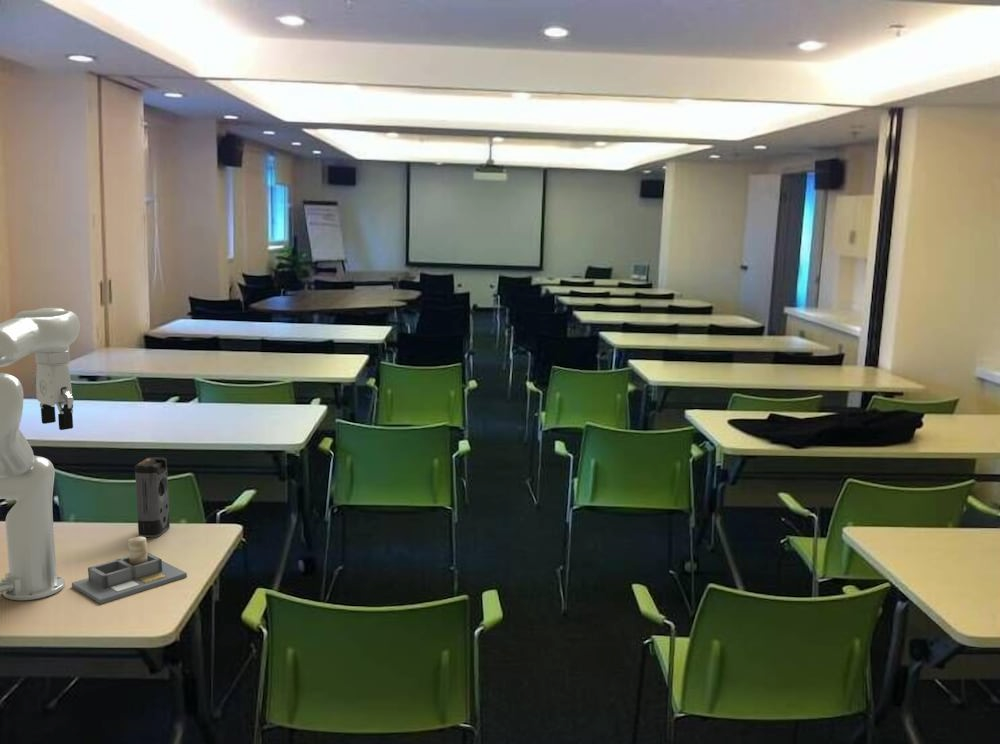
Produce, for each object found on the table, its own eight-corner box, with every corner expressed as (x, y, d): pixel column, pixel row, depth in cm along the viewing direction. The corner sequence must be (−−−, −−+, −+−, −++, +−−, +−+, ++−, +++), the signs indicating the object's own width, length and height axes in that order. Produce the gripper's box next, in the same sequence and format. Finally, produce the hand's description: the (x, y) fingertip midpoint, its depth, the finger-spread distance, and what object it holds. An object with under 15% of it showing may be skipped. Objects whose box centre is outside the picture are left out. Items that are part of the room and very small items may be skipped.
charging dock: (100, 604, 196) (99, 587, 195) (71, 586, 204) (70, 570, 204) (186, 576, 211) (186, 561, 211) (156, 561, 220) (156, 546, 220)
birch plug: (135, 576, 209) (132, 544, 207) (127, 571, 211) (125, 539, 210) (151, 571, 212) (149, 539, 210) (143, 566, 214) (141, 535, 213)
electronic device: (158, 538, 237) (154, 466, 233) (136, 537, 237) (132, 465, 233) (171, 526, 246) (168, 457, 243) (150, 526, 246) (147, 456, 243)
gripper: (22, 355, 220) (27, 422, 222) (52, 363, 209) (57, 434, 211) (53, 353, 225) (57, 418, 228) (84, 360, 214) (88, 429, 217)
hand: (57, 425), depth 220 cm, fingers open, 9 cm apart
